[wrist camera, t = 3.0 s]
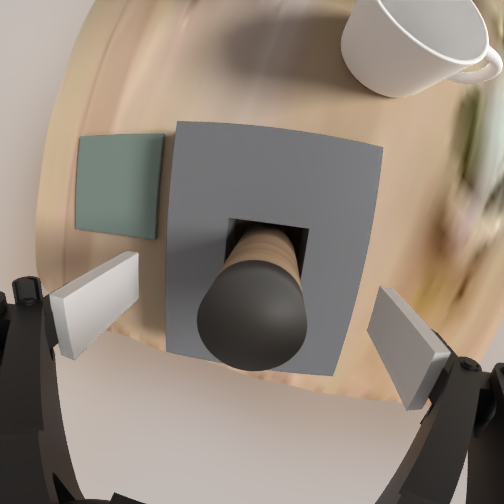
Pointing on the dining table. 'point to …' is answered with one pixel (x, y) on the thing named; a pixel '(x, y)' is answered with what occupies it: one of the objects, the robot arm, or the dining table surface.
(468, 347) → the dining table surface
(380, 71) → the cup
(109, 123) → the dining table surface
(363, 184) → the socket block
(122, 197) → the mat
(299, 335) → the plug
